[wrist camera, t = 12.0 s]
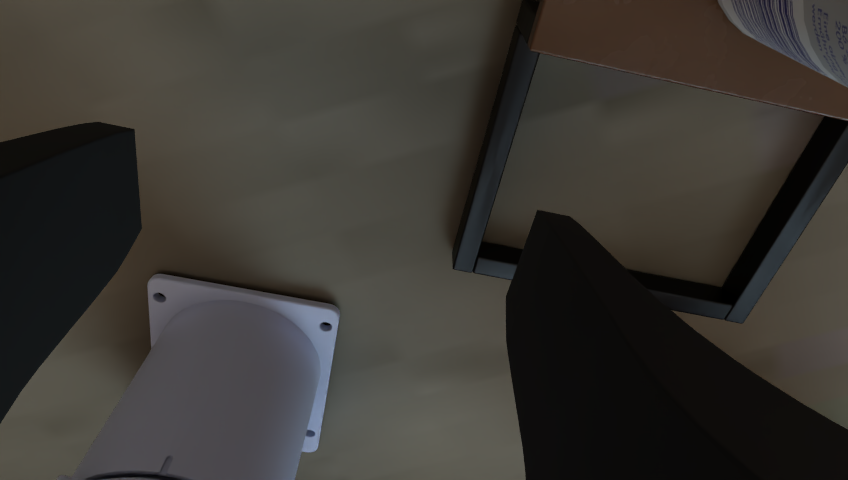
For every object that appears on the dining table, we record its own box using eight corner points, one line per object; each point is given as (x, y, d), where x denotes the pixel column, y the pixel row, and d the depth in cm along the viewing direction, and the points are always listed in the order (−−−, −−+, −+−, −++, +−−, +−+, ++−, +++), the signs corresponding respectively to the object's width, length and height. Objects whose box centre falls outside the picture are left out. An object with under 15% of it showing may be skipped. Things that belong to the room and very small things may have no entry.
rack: (730, 305, 24) (787, 389, 20) (451, 252, 23) (453, 329, 19) (1068, -235, 15) (1297, -276, 11) (622, -362, 14) (695, -461, 10)
